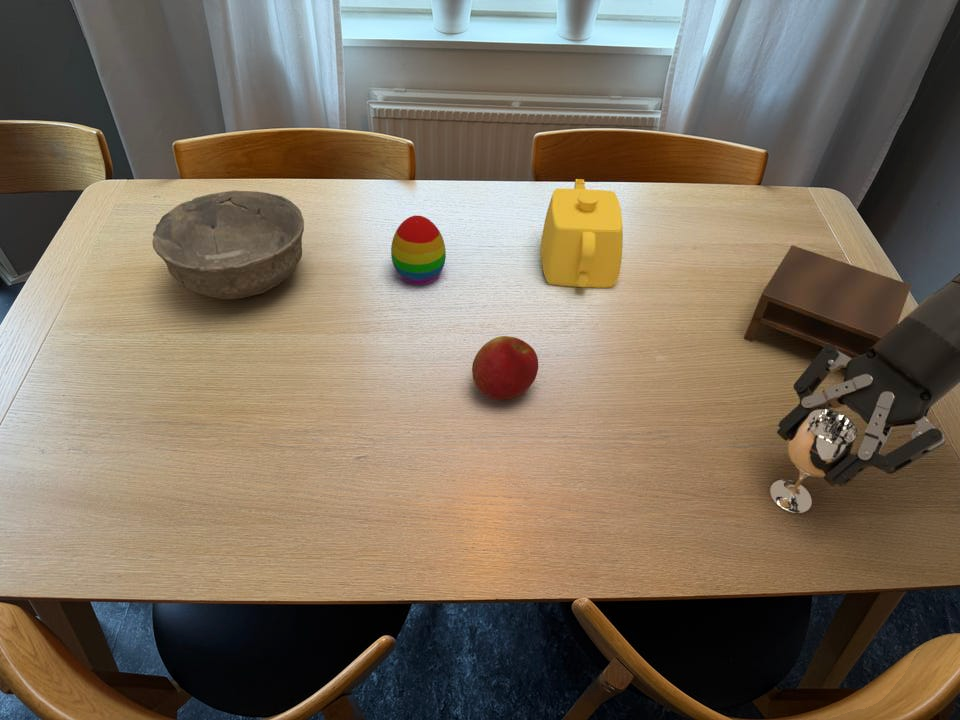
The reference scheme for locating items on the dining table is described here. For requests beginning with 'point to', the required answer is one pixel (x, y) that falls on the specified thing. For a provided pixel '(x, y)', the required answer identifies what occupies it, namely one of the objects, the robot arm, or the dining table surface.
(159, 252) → the bowl
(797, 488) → the wineglass
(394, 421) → the dining table surface
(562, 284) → the teapot
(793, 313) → the shelf
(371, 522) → the dining table surface
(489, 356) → the apple
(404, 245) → the decorative egg
